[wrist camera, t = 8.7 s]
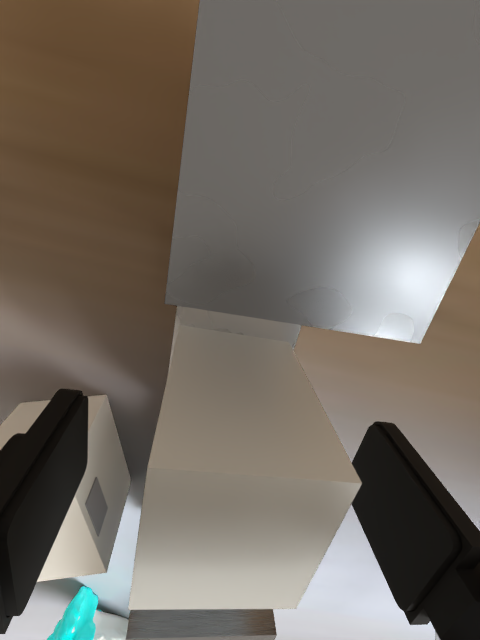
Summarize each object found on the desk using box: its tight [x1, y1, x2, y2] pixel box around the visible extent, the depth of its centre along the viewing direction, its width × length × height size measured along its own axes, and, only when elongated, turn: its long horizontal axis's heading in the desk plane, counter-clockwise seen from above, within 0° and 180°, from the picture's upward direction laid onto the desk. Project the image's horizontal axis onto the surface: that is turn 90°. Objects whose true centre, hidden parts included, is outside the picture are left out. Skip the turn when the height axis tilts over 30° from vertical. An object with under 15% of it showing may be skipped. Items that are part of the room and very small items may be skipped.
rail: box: [126, 0, 480, 640], centre depth 11 cm, size 5×22×8 cm, turn 168°
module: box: [128, 325, 362, 610], centre depth 10 cm, size 5×5×6 cm
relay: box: [0, 395, 131, 582], centre depth 13 cm, size 4×6×4 cm
